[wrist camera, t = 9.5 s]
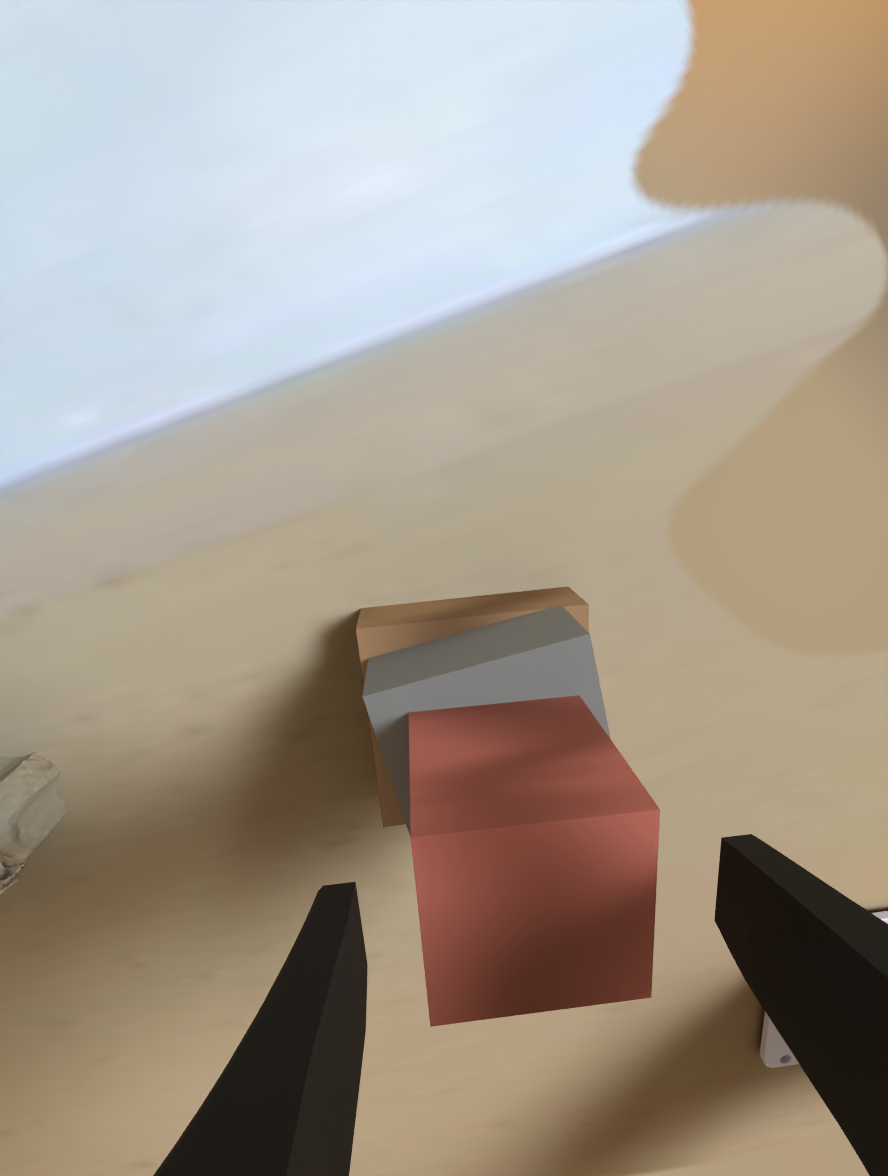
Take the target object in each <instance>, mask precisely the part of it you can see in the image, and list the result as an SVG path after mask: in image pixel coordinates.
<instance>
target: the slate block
mask: <svg viewBox="0 0 888 1176" xmlns="http://www.w3.org/2000/svg"><path fill="white" fill-rule="evenodd" d="M577 695H580V697H581V698H582V699H583V701H584V702H585V704H586V705H587V707H588V708H589V709H590V711H591V712H592V714H593V715H594V717H595V718H596V719H597V721H598V722H599V724H600V725H601V727H602V728H603V729H604V731H605V732H606V734H607V735H608V736H609V738H610V734H609V729H608V724H607V719H606V713H605V708H604V703H603V698H602V693H601V688H600V683H599V678H598V673H597V668H596V663H595V658H594V653H593V648H592V643H591V638H590V634H589V633H588V632H587V631H586V629H585V628H584V627H583V626H582V625H581V624H580V623H579V622H578V621H577V620H576V619H575V618H574V617H573V616H572V615H571V614H570V613H569V612H568V611H567V610H566V609H565V608H564V607H563V606H562V605H558V606H555V607H551V608H547V609H544V610H540V611H537V612H533V613H529V614H526V615H522V616H519V617H515V618H511V619H508V620H504V621H501V622H497V623H493V624H490V625H486V626H482V627H479V628H475V629H472V630H468V631H464V632H461V633H457V634H454V635H450V636H446V637H443V638H439V639H436V640H432V641H428V642H425V643H421V644H418V645H414V646H410V647H407V648H403V649H400V650H396V651H392V652H389V653H385V654H381V655H378V656H374V657H371V658H369V659H368V665H367V671H366V677H365V684H364V690H363V696H362V697H363V700H364V703H365V706H366V709H367V712H368V714H369V717H370V720H371V723H372V726H373V729H374V732H375V735H376V738H377V741H378V744H379V746H380V749H381V752H382V755H383V758H384V761H385V764H386V767H387V770H388V773H389V776H390V778H391V781H392V784H393V787H394V790H395V793H396V796H397V799H398V802H399V805H400V808H401V810H402V813H403V816H404V819H405V822H406V825H407V828H408V831H409V834H410V837H411V821H410V761H409V712H418V711H428V710H437V709H447V708H457V707H467V706H477V705H487V704H497V703H507V702H517V701H527V700H537V699H547V698H557V697H567V696H577Z"/></svg>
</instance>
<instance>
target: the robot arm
mask: <svg viewBox="0 0 888 1176" xmlns="http://www.w3.org/2000/svg"><path fill="white" fill-rule="evenodd" d="M715 922H716V924H717V926H718V928H719V930H720V932H721V934H722V936H723V938H724V940H725V942H726V944H727V946H728V948H729V950H730V952H731V954H732V956H733V958H734V960H735V962H736V964H737V965H738V967H739V969H740V971H741V973H742V975H743V977H744V979H745V980H746V982H747V983H748V985H749V987H750V988H751V990H752V991H753V993H754V995H755V996H756V998H757V999H758V1001H759V1002H760V1004H761V1005H762V1007H763V1009H764V1010H765V1015H764V1023H763V1031H762V1039H761V1047H760V1057H761V1059H762V1061H763V1063H764V1064H765V1065H766V1066H767V1067H770V1068H777V1067H784V1066H791V1065H798V1064H800V1066H801V1067H802V1069H803V1070H804V1072H805V1073H806V1075H807V1076H808V1078H809V1079H810V1081H811V1082H812V1084H813V1086H814V1087H815V1089H816V1090H817V1092H818V1093H819V1095H820V1096H821V1098H822V1099H823V1101H824V1102H825V1104H826V1106H827V1107H828V1109H829V1110H830V1112H831V1113H832V1115H833V1116H834V1118H835V1119H836V1121H837V1122H838V1124H839V1125H840V1127H841V1129H842V1130H843V1132H844V1134H845V1135H846V1137H847V1138H848V1140H849V1142H850V1143H851V1145H852V1147H853V1148H854V1150H855V1151H856V1153H857V1155H858V1156H859V1158H860V1160H861V1161H862V1163H863V1165H864V1166H865V1168H866V1170H867V1172H868V1173H869V1175H870V1176H888V911H883V912H875V913H870V912H869V911H867V910H866V909H864V908H863V907H861V906H859V905H858V904H856V903H855V902H853V901H852V900H850V899H849V898H847V897H846V896H844V895H843V894H841V893H840V892H838V891H837V890H835V889H834V888H832V887H831V886H829V885H828V884H826V883H825V882H823V881H822V880H820V879H819V878H817V877H816V876H814V875H813V874H811V873H810V872H808V871H807V870H805V869H804V868H802V867H801V866H799V865H798V864H796V863H795V862H793V861H792V860H790V859H789V858H787V857H786V856H784V855H783V854H781V853H780V852H778V851H777V850H775V849H774V848H772V847H771V846H769V845H768V844H766V843H765V842H763V841H761V840H760V839H758V838H757V837H755V836H753V835H752V834H749V835H741V836H732V837H724V838H722V839H721V851H720V862H719V874H718V886H717V898H716V910H715ZM366 1001H367V959H366V952H365V945H364V938H363V931H362V924H361V917H360V910H359V903H358V896H357V889H356V883H355V882H350V883H342V884H334V885H325V886H323V887H322V888H321V889H320V890H319V891H318V893H317V895H316V897H315V900H314V902H313V905H312V907H311V909H310V911H309V914H308V916H307V918H306V920H305V922H304V925H303V927H302V929H301V931H300V933H299V935H298V937H297V939H296V941H295V943H294V945H293V947H292V949H291V951H290V953H289V955H288V957H287V959H286V961H285V963H284V965H283V967H282V969H281V971H280V973H279V974H278V976H277V978H276V980H275V982H274V984H273V986H272V988H271V990H270V991H269V993H268V995H267V997H266V999H265V1001H264V1003H263V1004H262V1006H261V1008H260V1010H259V1012H258V1013H257V1015H256V1017H255V1019H254V1020H253V1022H252V1024H251V1025H250V1027H249V1029H248V1030H247V1032H246V1034H245V1035H244V1037H243V1039H242V1041H241V1042H240V1044H239V1046H238V1047H237V1049H236V1051H235V1052H234V1054H233V1056H232V1058H231V1059H230V1061H229V1063H228V1064H227V1066H226V1068H225V1069H224V1071H223V1072H222V1074H221V1076H220V1077H219V1079H218V1080H217V1082H216V1084H215V1085H214V1087H213V1088H212V1090H211V1091H210V1093H209V1095H208V1096H207V1098H206V1099H205V1101H204V1102H203V1104H202V1105H201V1107H200V1108H199V1110H198V1112H197V1113H196V1115H195V1116H194V1117H193V1119H192V1120H191V1122H190V1123H189V1125H188V1126H187V1128H186V1129H185V1131H184V1132H183V1134H182V1135H181V1137H180V1138H179V1140H178V1141H177V1143H176V1144H175V1146H174V1147H173V1149H172V1150H171V1152H170V1153H169V1154H168V1156H167V1157H166V1159H165V1160H164V1161H163V1163H162V1164H161V1166H160V1167H159V1168H158V1170H157V1171H156V1173H155V1174H154V1175H153V1176H349V1170H350V1161H351V1153H352V1144H353V1136H354V1127H355V1119H356V1110H357V1102H358V1093H359V1084H360V1076H361V1067H362V1058H363V1049H364V1040H365V1031H366Z"/></svg>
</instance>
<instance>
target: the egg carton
mask: <svg viewBox="0 0 888 1176" xmlns="http://www.w3.org/2000/svg"><path fill="white" fill-rule="evenodd" d="M59 774H60V772H59V770H58V768H57V767H56V766H55V765H54V764H53V763H52V762H50V761H49V760H47V759H46V758H44V757H42V756H41V755H39V754H38V753H36V752H34V753H32V754H30V755H28V756H25V757H20V758H14V759H11V758H3V757H0V895H1V894H2V893H3V892H5V891H6V890H7V889H8V888H9V887H11V886H12V885H13V884H14V883H15V882H16V881H17V880H18V879H20V878H21V877H22V876H17V875H16V874H17V873H18V872H19V871H20V870H21V869H22V868H23V867H24V865H25V864H24V862H25V861H26V860H27V859H28V857H29V856H30V855H31V854H32V853H33V851H34V849H35V848H36V847H37V846H38V845H39V843H40V842H41V841H42V840H43V839H44V838H45V837H46V836H47V835H48V834H49V833H50V832H51V830H52V829H53V828H54V827H55V826H56V825H57V824H58V823H59V822H60V820H61V819H62V818H63V817H64V816H65V815H66V814H67V813H68V812H69V809H68V807H67V806H66V805H65V804H64V802H63V801H62V800H61V798H60V797H59V794H58V791H57V778H58V776H59Z"/></svg>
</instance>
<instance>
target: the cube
mask: <svg viewBox="0 0 888 1176" xmlns="http://www.w3.org/2000/svg"><path fill="white" fill-rule="evenodd" d="M409 761H410V821H411V844H412V854H413V864H414V873H415V883H416V892H417V902H418V911H419V921H420V930H421V940H422V950H423V959H424V969H425V978H426V988H427V997H428V1007H429V1017H430V1026H438V1025H446V1024H453V1023H461V1022H468V1021H476V1020H484V1019H491V1018H499V1017H507V1016H514V1015H522V1014H529V1013H537V1012H545V1011H552V1010H560V1009H568V1008H575V1007H583V1006H590V1005H598V1004H606V1003H613V1002H621V1001H629V1000H636V999H644V998H651V990H652V969H653V947H654V925H655V904H656V882H657V860H658V839H659V817H660V809H659V808H658V806H657V805H656V803H655V802H654V800H653V799H652V798H651V796H650V795H649V793H648V792H647V791H646V789H645V788H644V786H643V785H642V783H641V782H640V781H639V779H638V778H637V776H636V775H635V773H634V772H633V771H632V769H631V768H630V766H629V765H628V764H627V762H626V761H625V759H624V758H623V756H622V755H621V754H620V752H619V751H618V749H617V748H616V746H615V745H614V744H613V742H612V741H611V739H610V738H609V736H608V735H607V734H606V732H605V731H604V729H603V728H602V727H601V725H600V724H599V722H598V721H597V719H596V718H595V717H594V715H593V714H592V712H591V711H590V709H589V708H588V707H587V705H586V704H585V702H584V701H583V699H582V698H581V697H580V695H577V696H567V697H557V698H547V699H537V700H527V701H517V702H507V703H497V704H487V705H477V706H467V707H457V708H447V709H437V710H428V711H418V712H409Z"/></svg>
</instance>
